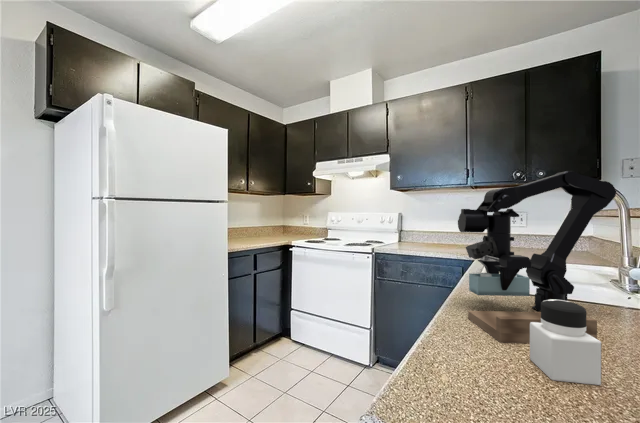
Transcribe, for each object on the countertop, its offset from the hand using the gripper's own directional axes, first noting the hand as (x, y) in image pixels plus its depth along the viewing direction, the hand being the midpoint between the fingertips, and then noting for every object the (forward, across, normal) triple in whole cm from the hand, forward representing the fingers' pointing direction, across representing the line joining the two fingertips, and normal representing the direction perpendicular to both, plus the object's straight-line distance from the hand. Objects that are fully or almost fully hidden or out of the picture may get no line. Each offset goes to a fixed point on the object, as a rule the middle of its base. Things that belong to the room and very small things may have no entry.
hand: (498, 287), depth 82 cm
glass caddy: (+2, 0, 0) cm, 2 cm away
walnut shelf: (+6, +14, -2) cm, 16 cm away
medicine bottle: (+7, +32, -8) cm, 34 cm away
